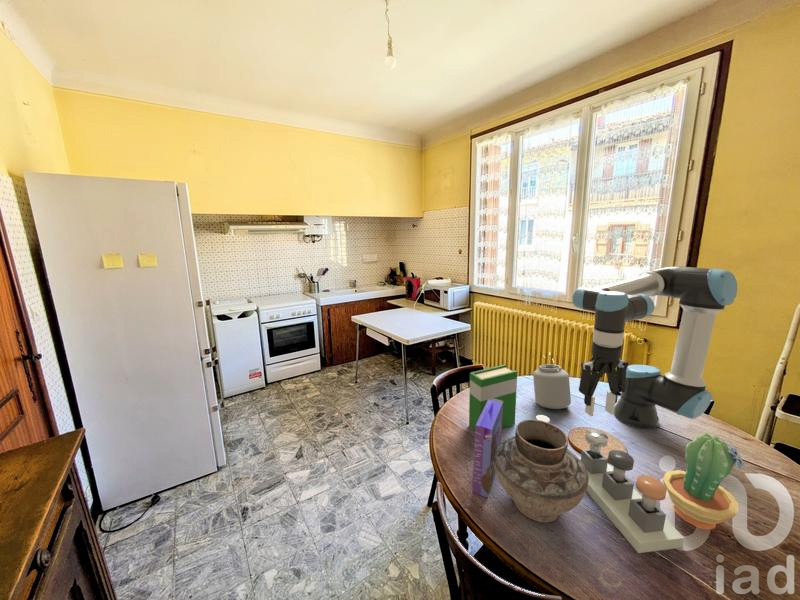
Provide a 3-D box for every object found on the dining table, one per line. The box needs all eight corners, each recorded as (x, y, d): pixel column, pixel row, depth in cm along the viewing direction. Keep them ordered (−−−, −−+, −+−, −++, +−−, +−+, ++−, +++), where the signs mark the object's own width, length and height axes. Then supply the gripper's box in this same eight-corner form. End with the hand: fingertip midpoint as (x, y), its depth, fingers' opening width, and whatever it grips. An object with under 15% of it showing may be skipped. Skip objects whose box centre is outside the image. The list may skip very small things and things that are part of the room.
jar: (522, 396, 153) (525, 348, 148) (548, 391, 156) (552, 344, 151) (549, 417, 135) (553, 363, 130) (577, 411, 139) (583, 359, 133)
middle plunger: (620, 469, 95) (622, 449, 93) (636, 484, 89) (639, 463, 88) (601, 471, 94) (603, 450, 93) (616, 486, 89) (619, 465, 87)
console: (598, 462, 108) (600, 442, 107) (682, 547, 79) (687, 521, 78) (565, 466, 108) (567, 445, 106) (638, 553, 78) (642, 526, 77)
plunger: (596, 447, 105) (598, 428, 103) (610, 459, 99) (612, 440, 97) (579, 448, 104) (581, 430, 103) (592, 461, 98) (594, 442, 97)
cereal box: (487, 498, 96) (491, 429, 90) (472, 492, 98) (475, 424, 93) (499, 461, 111) (503, 400, 105) (485, 457, 113) (489, 397, 108)
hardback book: (502, 415, 138) (504, 364, 133) (514, 424, 131) (517, 371, 126) (469, 425, 132) (469, 372, 127) (479, 435, 125) (481, 380, 120)
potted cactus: (715, 551, 78) (735, 464, 73) (647, 503, 92) (659, 428, 87) (745, 526, 84) (765, 445, 79) (677, 485, 98) (690, 413, 93)
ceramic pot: (568, 477, 102) (574, 412, 97) (598, 552, 79) (608, 471, 74) (489, 468, 108) (491, 405, 103) (495, 535, 84) (498, 458, 79)
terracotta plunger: (648, 496, 85) (652, 474, 84) (668, 515, 79) (673, 492, 78) (627, 498, 85) (631, 476, 83) (646, 518, 79) (650, 494, 77)
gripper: (626, 337, 98) (618, 404, 103) (568, 341, 96) (563, 408, 101) (647, 345, 90) (637, 417, 95) (585, 350, 89) (578, 422, 94)
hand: (599, 412), depth 98 cm, fingers open, 6 cm apart
